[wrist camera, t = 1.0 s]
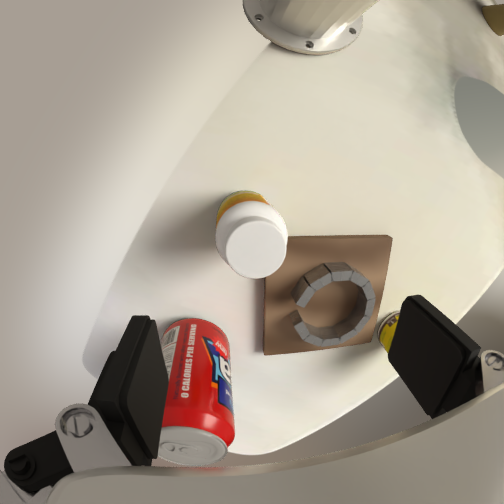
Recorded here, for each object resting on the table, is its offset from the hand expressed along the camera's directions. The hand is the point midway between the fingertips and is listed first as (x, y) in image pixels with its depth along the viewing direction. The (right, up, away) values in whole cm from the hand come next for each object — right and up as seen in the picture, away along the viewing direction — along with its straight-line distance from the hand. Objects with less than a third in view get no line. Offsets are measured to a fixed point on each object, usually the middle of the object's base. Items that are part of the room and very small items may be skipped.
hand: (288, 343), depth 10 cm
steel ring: (+7, -2, +20) cm, 21 cm away
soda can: (-8, -7, +22) cm, 24 cm away
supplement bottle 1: (-2, +7, +18) cm, 19 cm away
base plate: (+7, -2, +21) cm, 22 cm away
